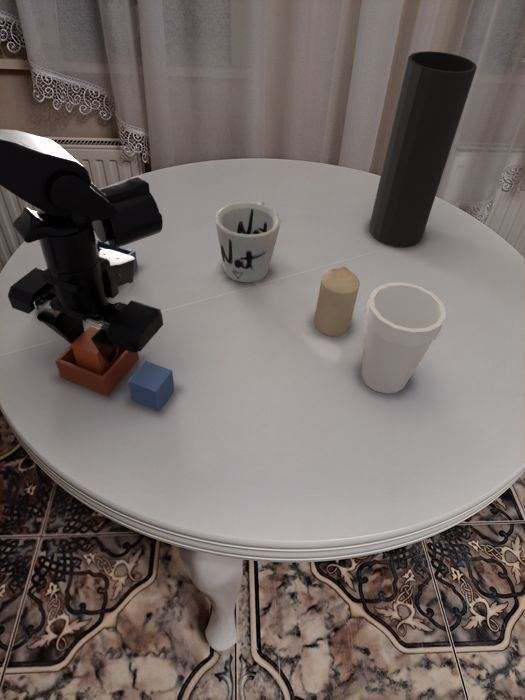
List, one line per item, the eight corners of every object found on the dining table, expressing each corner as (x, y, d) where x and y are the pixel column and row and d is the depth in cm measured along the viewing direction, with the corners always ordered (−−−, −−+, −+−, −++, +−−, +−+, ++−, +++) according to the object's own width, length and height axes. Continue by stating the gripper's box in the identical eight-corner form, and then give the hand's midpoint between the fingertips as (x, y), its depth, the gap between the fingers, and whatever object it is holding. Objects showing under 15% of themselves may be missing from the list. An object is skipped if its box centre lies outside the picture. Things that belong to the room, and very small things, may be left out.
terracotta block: (77, 365, 68) (70, 344, 65) (95, 346, 71) (90, 325, 68) (102, 375, 67) (96, 354, 64) (119, 355, 70) (115, 334, 67)
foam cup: (339, 360, 73) (355, 289, 64) (394, 346, 76) (417, 276, 67) (371, 409, 67) (395, 339, 58) (430, 392, 70) (461, 323, 61)
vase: (404, 215, 103) (450, 49, 82) (432, 242, 97) (491, 70, 75) (359, 222, 100) (395, 53, 79) (385, 251, 94) (432, 74, 72)
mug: (207, 280, 85) (205, 228, 78) (234, 234, 95) (235, 184, 88) (267, 294, 83) (271, 241, 76) (288, 245, 93) (293, 195, 86)
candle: (309, 330, 78) (317, 278, 70) (320, 309, 81) (329, 257, 74) (343, 341, 76) (356, 288, 69) (353, 319, 80) (365, 267, 73)
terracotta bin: (60, 377, 68) (54, 360, 66) (94, 342, 73) (90, 325, 71) (107, 396, 67) (103, 379, 64) (139, 359, 71) (136, 342, 69)
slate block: (132, 401, 66) (128, 381, 63) (148, 380, 69) (145, 360, 66) (158, 411, 65) (155, 391, 62) (174, 390, 68) (172, 370, 65)
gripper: (181, 244, 60) (188, 339, 71) (52, 205, 65) (77, 300, 76) (128, 298, 53) (144, 395, 64) (-14, 250, 57) (25, 348, 68)
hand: (97, 355), depth 68 cm, fingers closed on terracotta block, 4 cm apart
